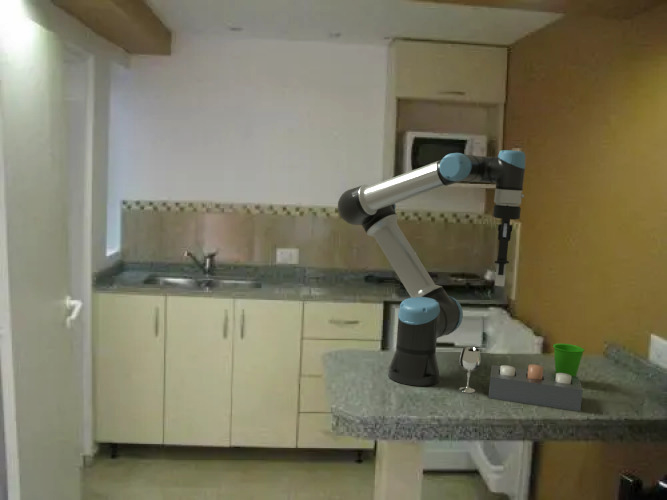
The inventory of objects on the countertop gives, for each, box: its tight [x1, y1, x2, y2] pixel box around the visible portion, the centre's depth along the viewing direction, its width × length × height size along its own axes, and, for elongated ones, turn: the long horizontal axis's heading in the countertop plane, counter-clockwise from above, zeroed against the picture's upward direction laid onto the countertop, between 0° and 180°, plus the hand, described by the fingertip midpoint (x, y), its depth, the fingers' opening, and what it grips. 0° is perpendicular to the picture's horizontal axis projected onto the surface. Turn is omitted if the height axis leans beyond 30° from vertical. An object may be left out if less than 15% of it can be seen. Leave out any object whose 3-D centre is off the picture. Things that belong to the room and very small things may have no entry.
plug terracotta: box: [527, 363, 544, 380], centre depth 182 cm, size 4×4×7 cm
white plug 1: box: [500, 365, 516, 376], centre depth 184 cm, size 4×4×7 cm
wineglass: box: [459, 346, 481, 394], centre depth 184 cm, size 6×6×12 cm
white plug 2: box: [555, 372, 571, 384], centre depth 180 cm, size 4×4×7 cm
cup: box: [552, 343, 585, 377], centre depth 197 cm, size 9×9×11 cm
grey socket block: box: [488, 364, 584, 412], centre depth 182 cm, size 24×12×6 cm, turn 75°
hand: (499, 285), depth 189 cm, fingers closed
